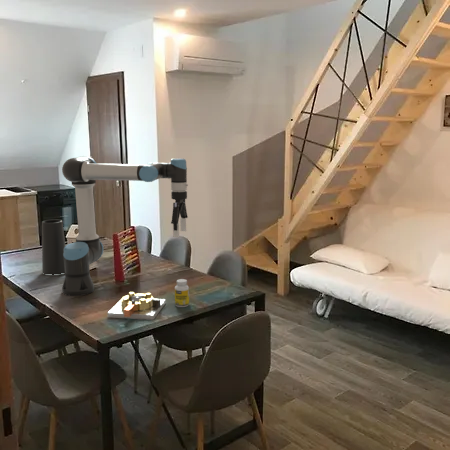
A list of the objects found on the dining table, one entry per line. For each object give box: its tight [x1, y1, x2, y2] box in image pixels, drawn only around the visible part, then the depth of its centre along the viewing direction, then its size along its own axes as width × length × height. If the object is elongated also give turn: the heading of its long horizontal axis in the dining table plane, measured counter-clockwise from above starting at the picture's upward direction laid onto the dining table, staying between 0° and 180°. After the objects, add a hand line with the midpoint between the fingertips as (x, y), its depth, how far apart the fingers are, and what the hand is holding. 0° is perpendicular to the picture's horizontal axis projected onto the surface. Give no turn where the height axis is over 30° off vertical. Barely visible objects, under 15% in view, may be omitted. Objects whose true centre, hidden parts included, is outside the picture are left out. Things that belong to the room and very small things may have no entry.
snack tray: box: [120, 291, 155, 317], centre depth 222 cm, size 21×13×4 cm, turn 172°
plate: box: [107, 295, 166, 321], centre depth 226 cm, size 21×20×6 cm
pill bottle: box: [174, 278, 190, 308], centre depth 232 cm, size 6×6×12 cm
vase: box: [41, 219, 66, 275], centre depth 281 cm, size 14×14×29 cm
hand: (179, 233), depth 252 cm, fingers open, 13 cm apart
